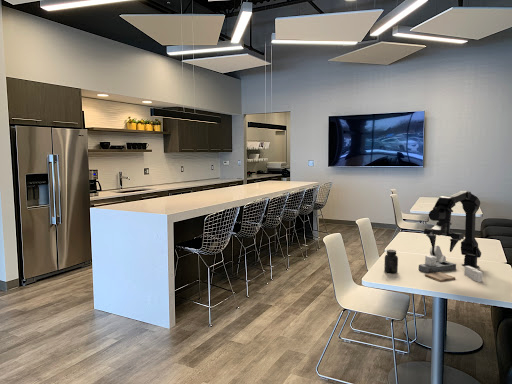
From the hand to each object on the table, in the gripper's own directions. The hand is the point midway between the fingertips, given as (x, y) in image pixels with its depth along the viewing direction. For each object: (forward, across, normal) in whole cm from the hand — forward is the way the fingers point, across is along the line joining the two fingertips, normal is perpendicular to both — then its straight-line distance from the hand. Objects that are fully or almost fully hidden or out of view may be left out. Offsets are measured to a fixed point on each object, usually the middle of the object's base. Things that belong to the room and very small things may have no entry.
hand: (441, 250), depth 199 cm
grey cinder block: (+13, -6, +10) cm, 17 cm away
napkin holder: (+14, +12, +10) cm, 21 cm away
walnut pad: (+14, +2, -3) cm, 14 cm away
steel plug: (+13, -8, +5) cm, 16 cm away
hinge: (+12, -16, +28) cm, 34 cm away
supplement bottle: (+15, -19, -15) cm, 28 cm away
